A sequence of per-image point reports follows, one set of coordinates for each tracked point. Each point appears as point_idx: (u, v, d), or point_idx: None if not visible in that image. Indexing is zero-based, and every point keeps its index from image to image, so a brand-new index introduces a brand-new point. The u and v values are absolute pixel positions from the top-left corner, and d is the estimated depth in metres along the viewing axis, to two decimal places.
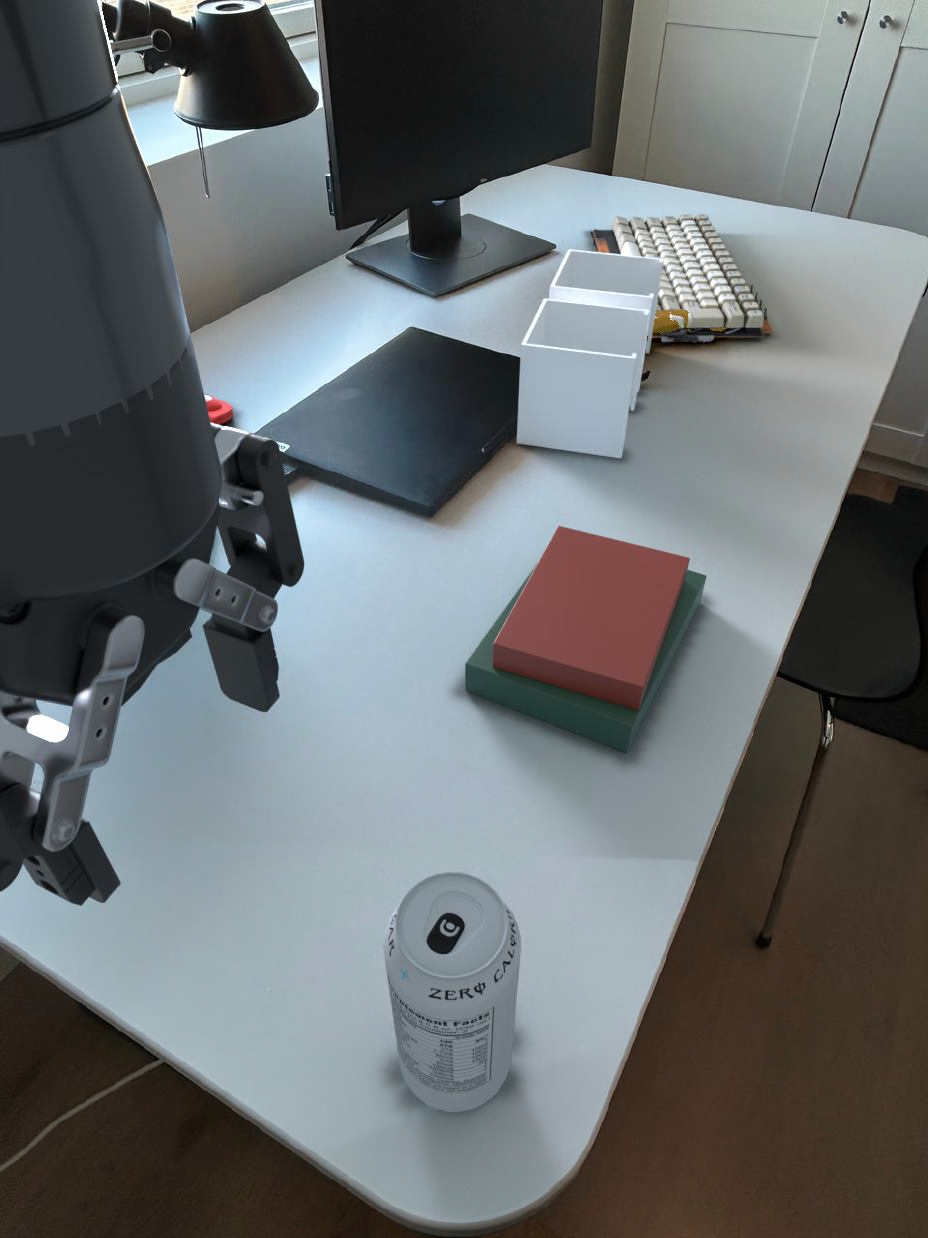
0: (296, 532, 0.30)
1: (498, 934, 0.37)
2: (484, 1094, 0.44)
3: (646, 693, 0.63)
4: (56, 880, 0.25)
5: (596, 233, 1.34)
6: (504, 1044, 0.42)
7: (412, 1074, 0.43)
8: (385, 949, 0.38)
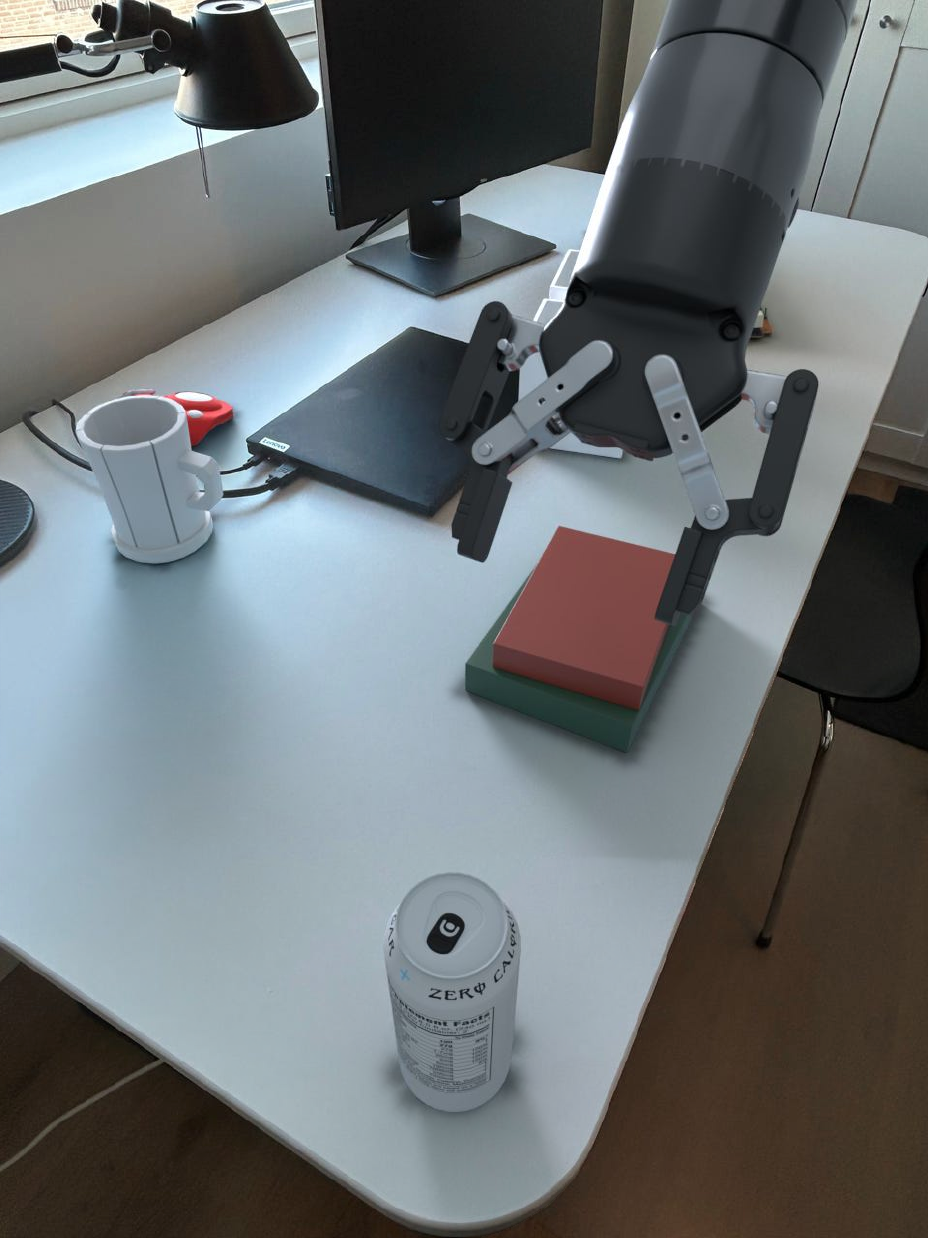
0: (790, 478, 0.32)
1: (498, 934, 0.37)
2: (484, 1094, 0.44)
3: (646, 693, 0.63)
4: (461, 496, 0.37)
5: None
6: (504, 1044, 0.42)
7: (412, 1074, 0.43)
8: (385, 949, 0.38)
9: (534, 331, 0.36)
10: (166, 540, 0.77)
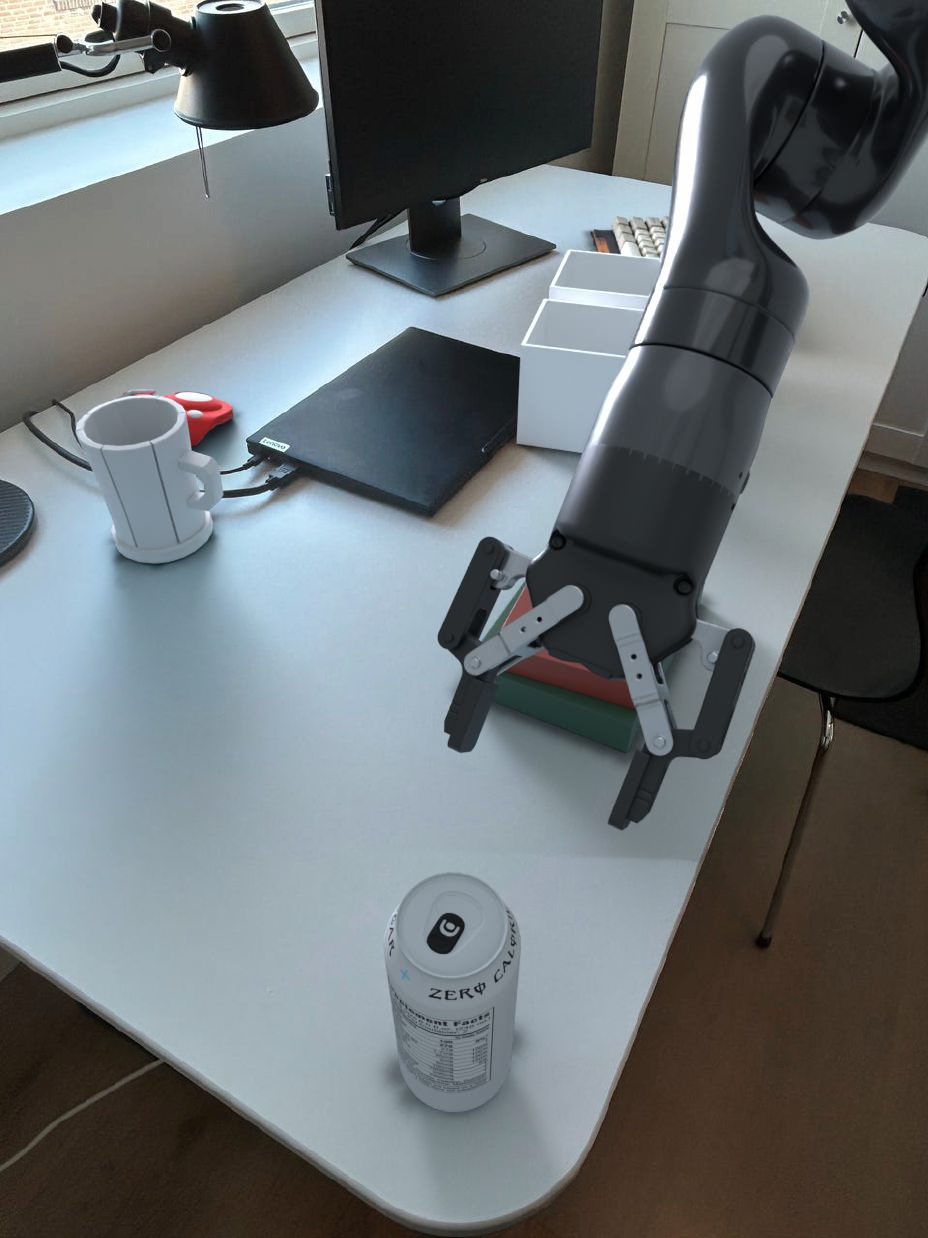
0: (725, 720, 0.38)
1: (498, 934, 0.37)
2: (484, 1094, 0.44)
3: None
4: (453, 698, 0.43)
5: (596, 233, 1.34)
6: (504, 1044, 0.42)
7: (412, 1074, 0.43)
8: (385, 949, 0.38)
9: (522, 563, 0.43)
10: (166, 540, 0.77)
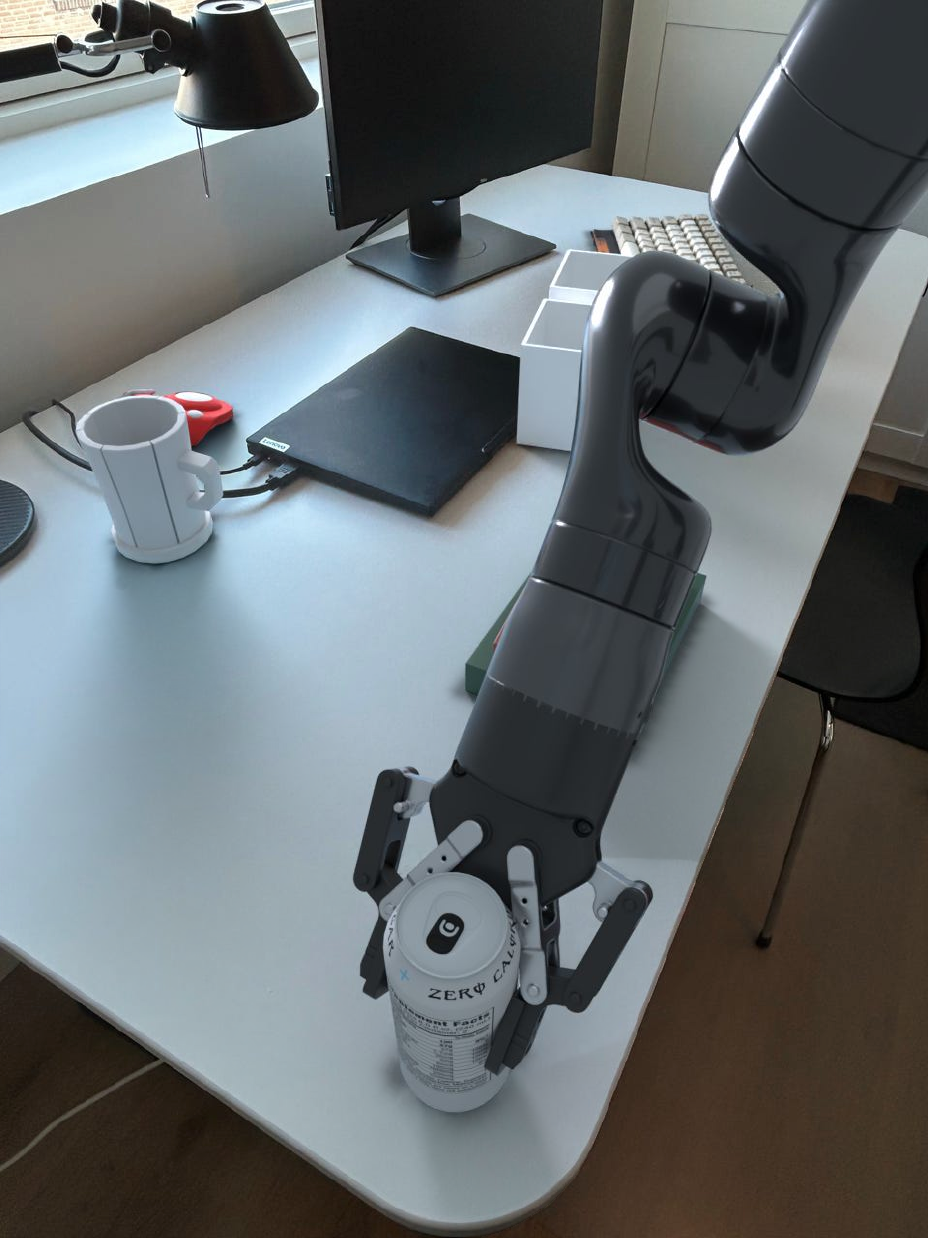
0: (601, 980, 0.37)
1: (497, 934, 0.37)
2: (484, 1094, 0.44)
3: None
4: (369, 940, 0.42)
5: (596, 233, 1.34)
6: None
7: (412, 1074, 0.43)
8: (385, 949, 0.38)
9: (424, 790, 0.42)
10: (166, 540, 0.77)
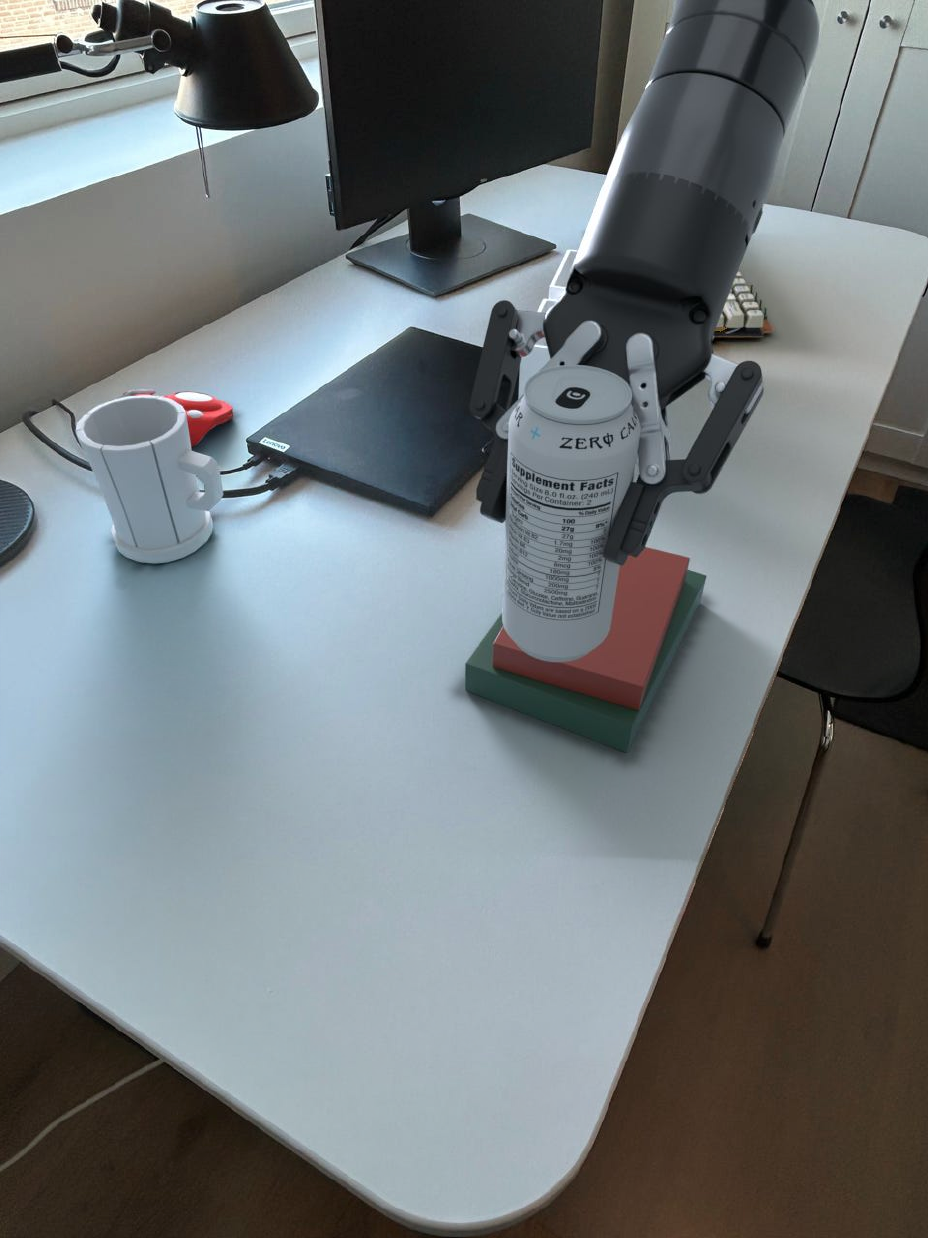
0: (720, 447, 0.39)
1: (623, 398, 0.39)
2: (590, 634, 0.46)
3: (646, 693, 0.63)
4: (485, 466, 0.44)
5: None
6: None
7: (523, 608, 0.45)
8: (512, 426, 0.40)
9: (537, 320, 0.44)
10: (166, 540, 0.77)
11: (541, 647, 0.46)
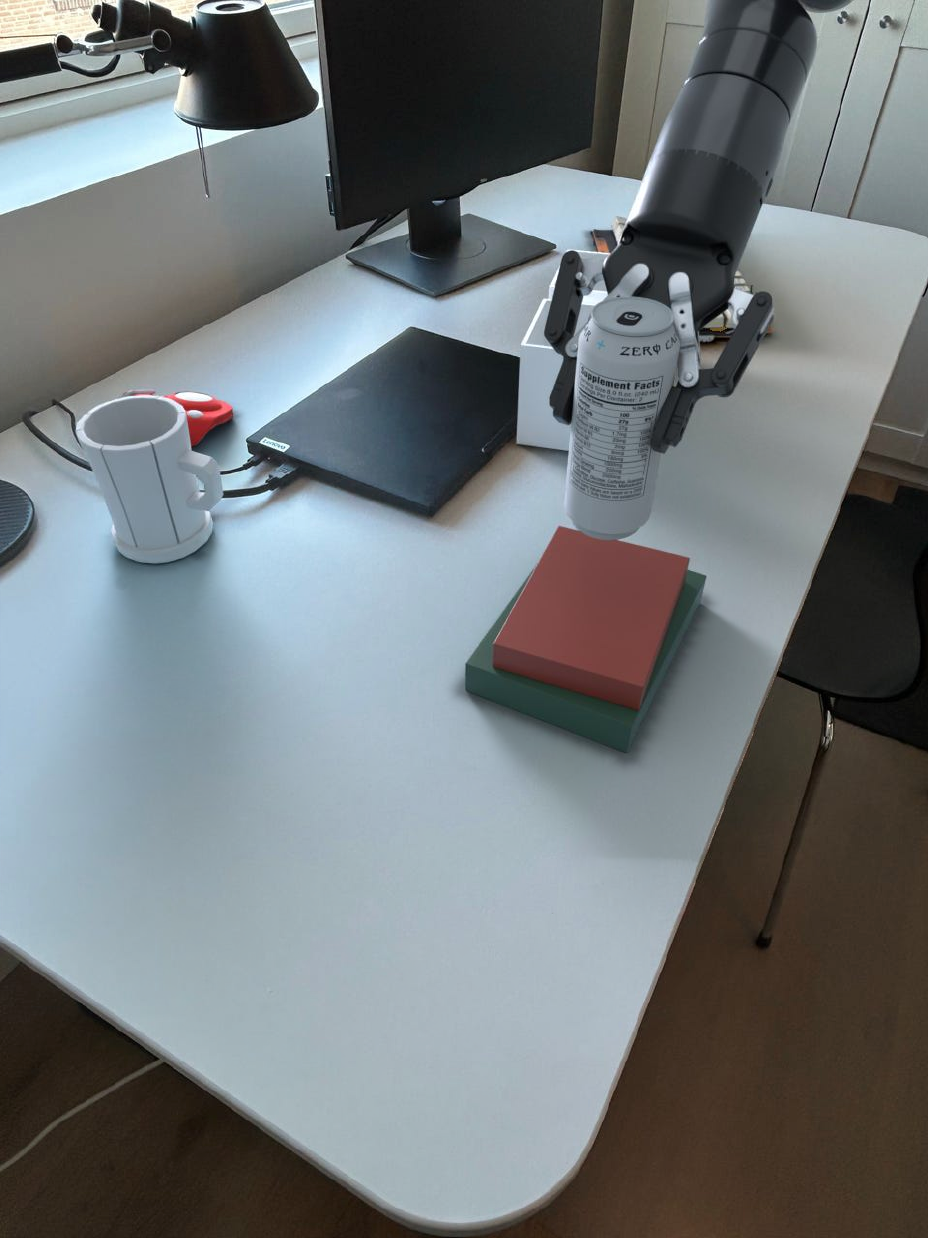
0: (740, 357, 0.52)
1: (667, 318, 0.51)
2: (636, 514, 0.58)
3: (646, 693, 0.63)
4: (556, 379, 0.56)
5: (596, 233, 1.34)
6: (657, 453, 0.56)
7: (584, 492, 0.58)
8: (582, 342, 0.52)
9: (597, 265, 0.56)
10: (166, 540, 0.77)
11: (597, 525, 0.59)
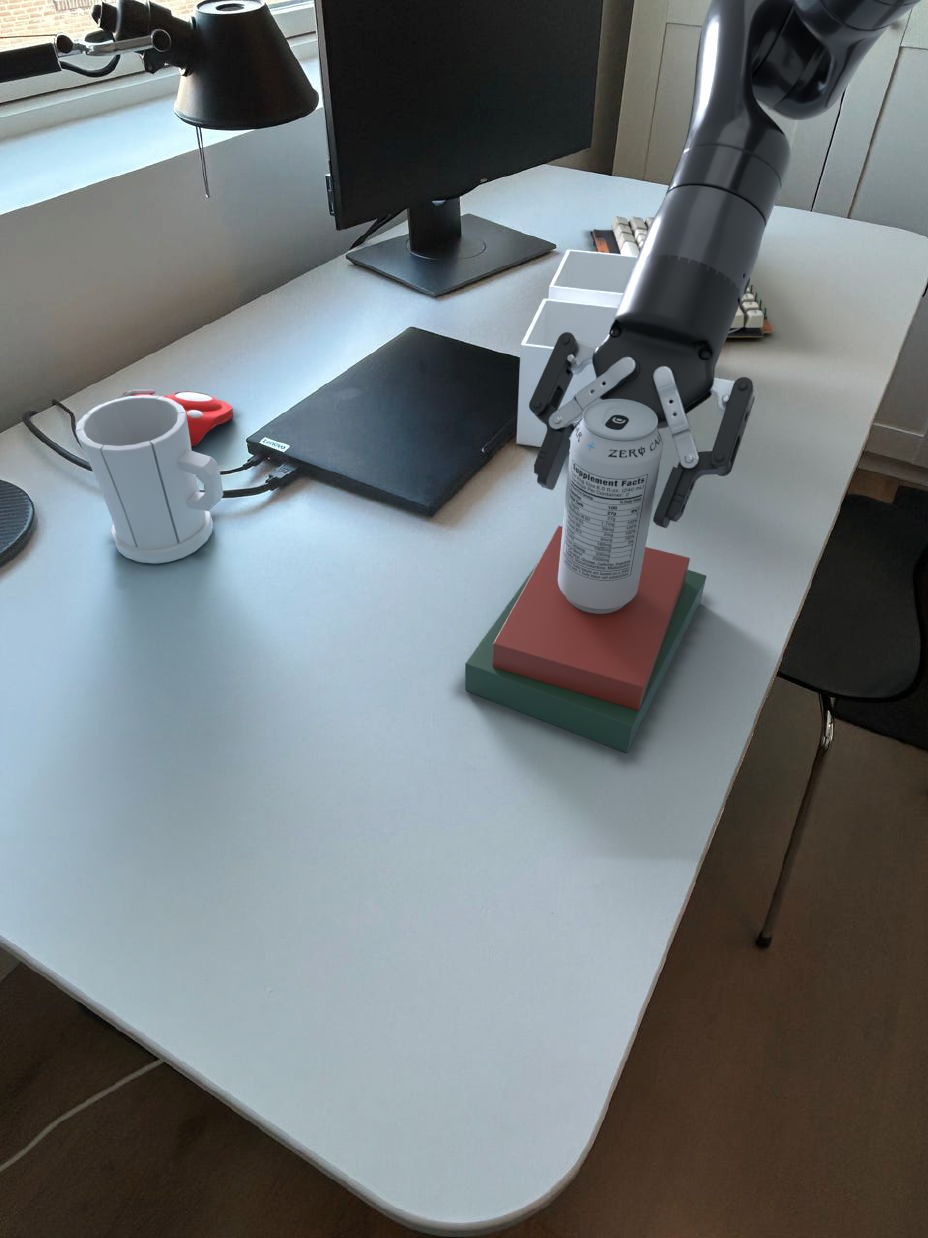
0: (734, 439, 0.56)
1: (651, 422, 0.56)
2: (624, 592, 0.63)
3: (646, 693, 0.63)
4: (540, 448, 0.61)
5: (596, 233, 1.34)
6: (643, 538, 0.61)
7: (576, 572, 0.63)
8: (573, 441, 0.57)
9: (589, 350, 0.61)
10: (166, 540, 0.77)
11: (588, 601, 0.64)
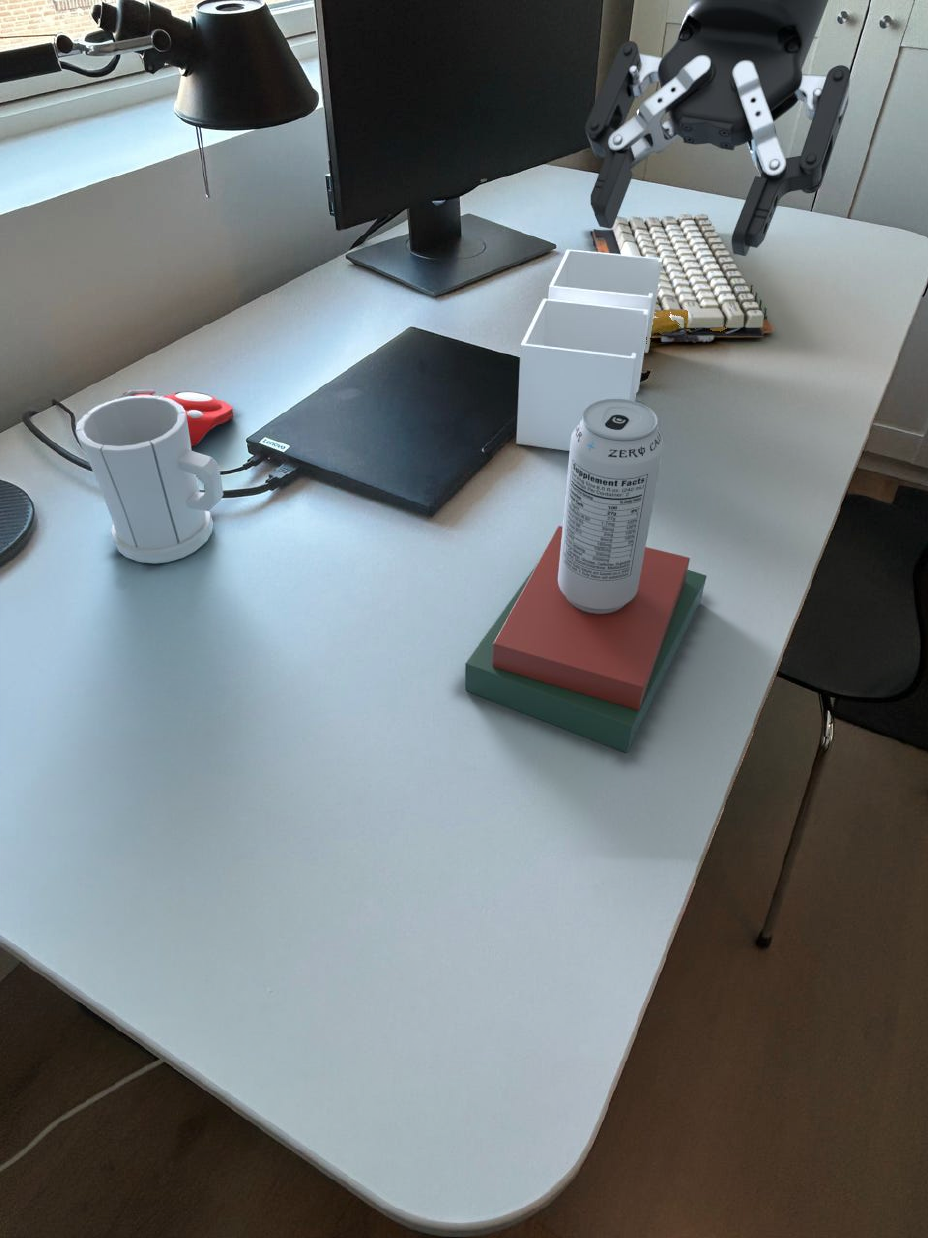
0: (828, 136, 0.48)
1: (651, 422, 0.56)
2: (624, 592, 0.63)
3: (646, 693, 0.63)
4: (598, 176, 0.53)
5: (596, 233, 1.34)
6: (643, 538, 0.61)
7: (576, 572, 0.63)
8: (573, 441, 0.57)
9: (654, 62, 0.53)
10: (166, 540, 0.77)
11: (588, 601, 0.64)
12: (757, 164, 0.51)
